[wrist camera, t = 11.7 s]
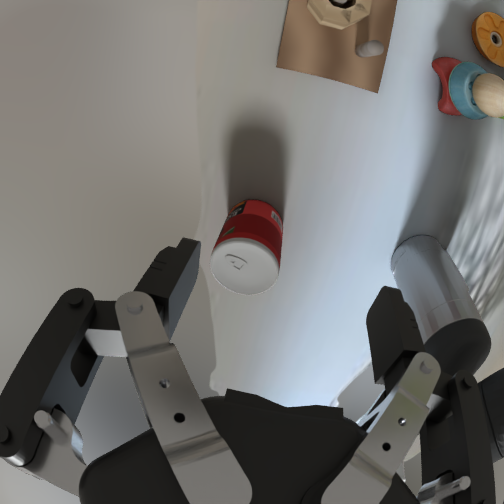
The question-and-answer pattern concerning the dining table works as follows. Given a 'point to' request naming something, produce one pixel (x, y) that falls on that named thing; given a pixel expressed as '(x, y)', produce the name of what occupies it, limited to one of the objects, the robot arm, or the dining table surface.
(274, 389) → the dining table surface
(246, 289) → the canned food
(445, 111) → the colourful stacking toy
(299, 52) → the gear board
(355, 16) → the beech gear
